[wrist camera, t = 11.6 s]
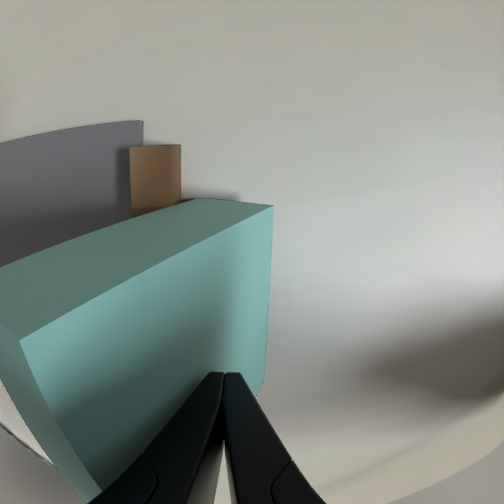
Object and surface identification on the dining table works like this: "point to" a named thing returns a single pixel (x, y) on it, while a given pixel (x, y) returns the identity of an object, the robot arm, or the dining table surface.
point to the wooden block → (154, 178)
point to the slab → (132, 329)
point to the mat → (64, 185)
